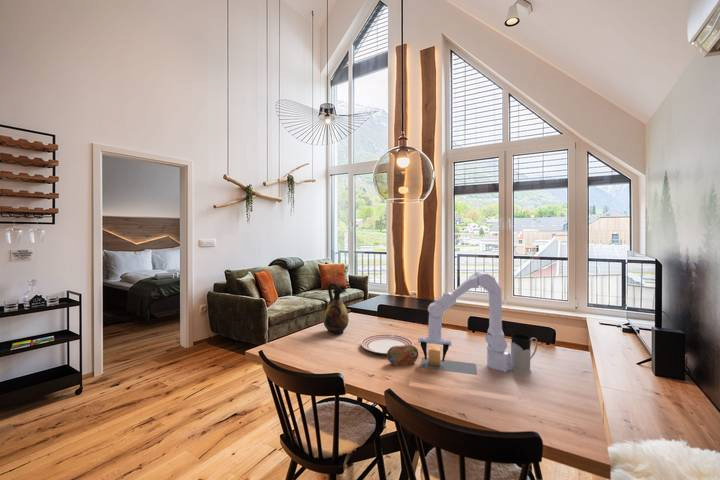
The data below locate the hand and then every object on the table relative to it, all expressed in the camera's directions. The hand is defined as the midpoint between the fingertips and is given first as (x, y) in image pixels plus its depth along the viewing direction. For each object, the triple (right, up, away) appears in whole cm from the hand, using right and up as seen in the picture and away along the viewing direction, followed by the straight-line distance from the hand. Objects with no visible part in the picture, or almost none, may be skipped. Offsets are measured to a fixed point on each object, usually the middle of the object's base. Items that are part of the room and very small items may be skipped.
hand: (434, 359), depth 146 cm
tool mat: (+6, -4, -2) cm, 7 cm away
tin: (-14, -4, +4) cm, 15 cm away
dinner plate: (-20, -3, +24) cm, 31 cm away
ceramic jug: (-49, -2, +50) cm, 70 cm away
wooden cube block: (0, -2, 0) cm, 2 cm away
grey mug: (+40, -4, -1) cm, 41 cm away
